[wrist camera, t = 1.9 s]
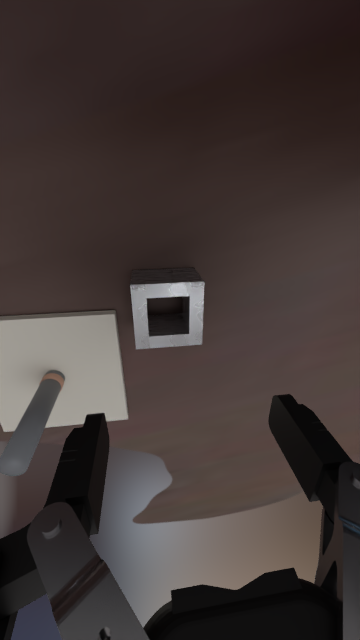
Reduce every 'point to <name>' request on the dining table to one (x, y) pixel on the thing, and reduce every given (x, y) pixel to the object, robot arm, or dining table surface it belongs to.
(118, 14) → the dining table surface
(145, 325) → the collar
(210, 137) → the dining table surface
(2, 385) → the post
